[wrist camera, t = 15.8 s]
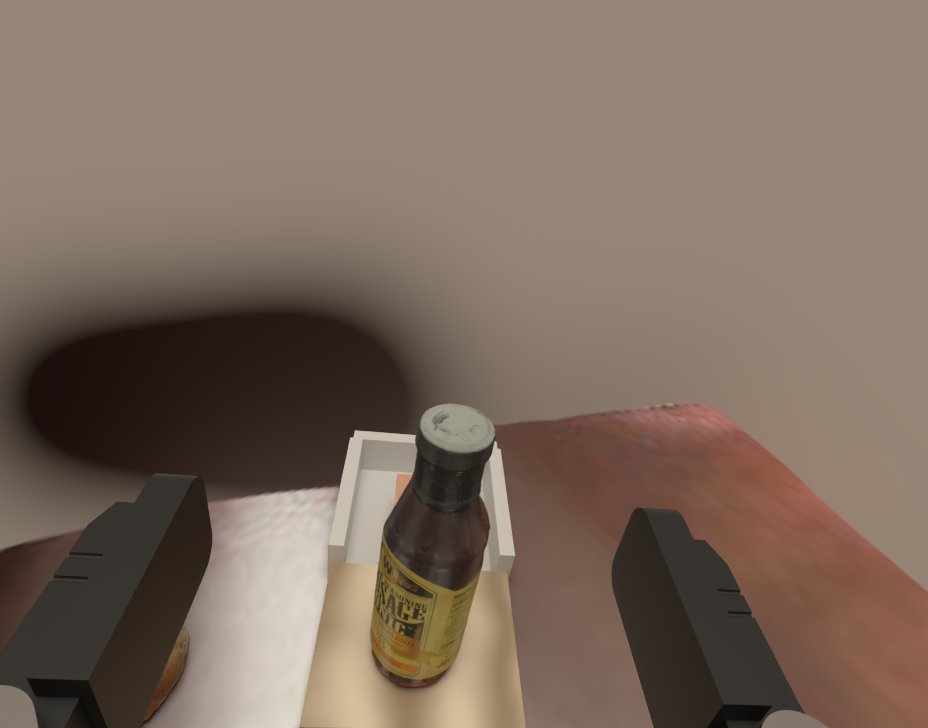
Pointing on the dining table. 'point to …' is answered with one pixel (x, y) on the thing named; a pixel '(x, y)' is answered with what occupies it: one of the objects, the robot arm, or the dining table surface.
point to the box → (373, 497)
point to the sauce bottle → (433, 549)
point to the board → (421, 707)
